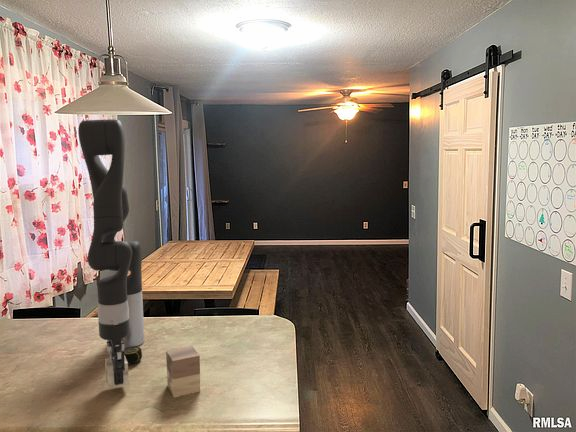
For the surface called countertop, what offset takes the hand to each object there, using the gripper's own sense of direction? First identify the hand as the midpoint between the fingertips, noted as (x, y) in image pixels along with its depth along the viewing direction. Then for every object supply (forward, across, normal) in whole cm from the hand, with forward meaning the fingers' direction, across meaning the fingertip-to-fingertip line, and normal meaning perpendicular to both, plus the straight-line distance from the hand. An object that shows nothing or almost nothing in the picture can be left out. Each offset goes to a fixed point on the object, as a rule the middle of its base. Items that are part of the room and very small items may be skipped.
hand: (117, 378), depth 131 cm
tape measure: (+3, -16, +5) cm, 17 cm away
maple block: (+1, 0, 0) cm, 1 cm away
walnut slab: (-2, +7, +16) cm, 17 cm away
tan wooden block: (+3, +8, +16) cm, 18 cm away
